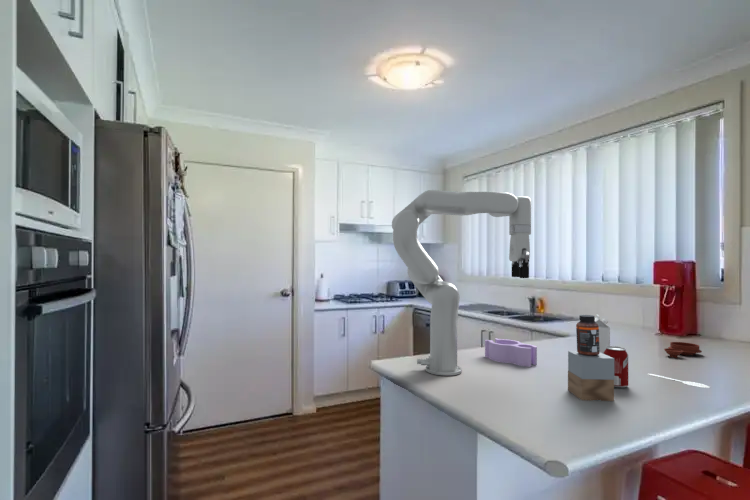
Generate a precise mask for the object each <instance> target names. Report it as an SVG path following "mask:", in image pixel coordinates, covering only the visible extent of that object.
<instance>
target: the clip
mask: <svg viewBox="0 0 750 500" xmlns="http://www.w3.org/2000/svg"><path fill="white" fill-rule="evenodd" d="M484 357H485V358H489V359H490V360H491V361H493V362H498V363H507V364H514V365H517V366H519V367H520V366H521V367H532V365H533V366H538V365H537V364H538V362H537V361H538V346H537V345H534V344H530V343H529V344H528V343H523V342H521V341H518V340H514V339H508V338H507V339H506V338H505V339H503V338H496V337H495V338H494V340H491V339H485V340H484Z"/></svg>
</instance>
